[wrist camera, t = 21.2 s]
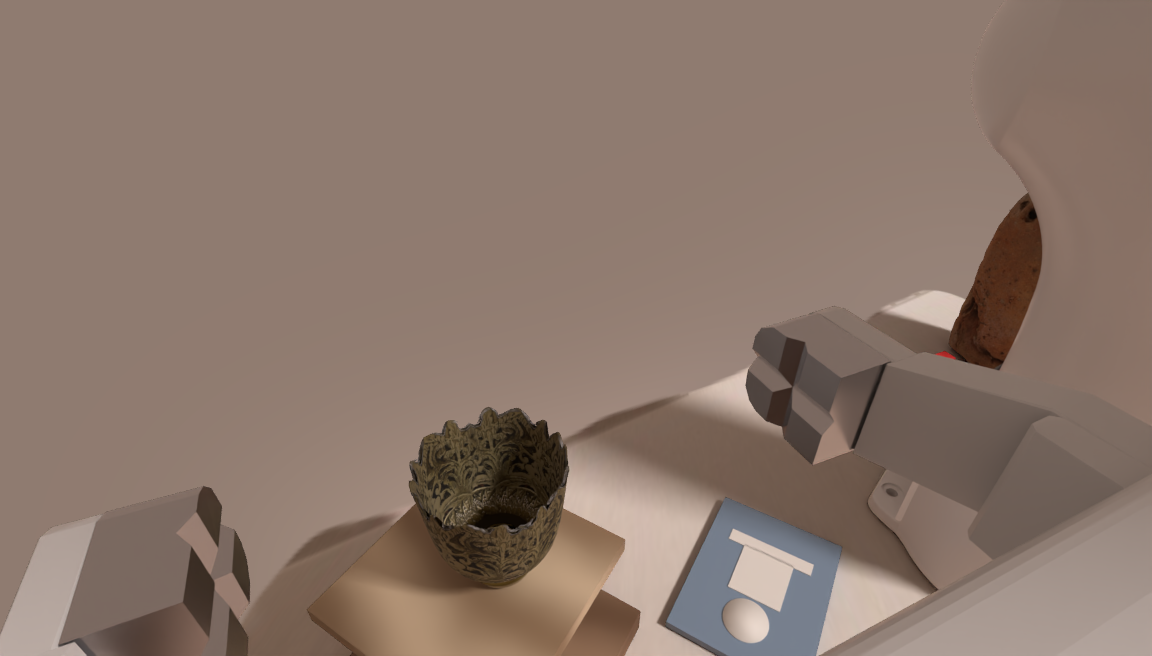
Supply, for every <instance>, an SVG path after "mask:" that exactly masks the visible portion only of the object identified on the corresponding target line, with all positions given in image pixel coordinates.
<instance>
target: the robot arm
mask: <svg viewBox="0 0 1152 656" xmlns="http://www.w3.org/2000/svg"><path fill="white" fill-rule="evenodd" d="M971 94H972V104H973V109H974V113H975V117H976V119H977V122H978V125H979V127H980V129H981V131H982V133H983V134H984V136H985V138H986V139H987V141H988V142H989V144H990V145H991V146H992V147H993V148H994V149H995V150H996V151H997V152H998V153H999V154H1000V155H1001V156H1002V157H1003V158H1004V159H1005V160H1006V161H1007V163H1008V164H1009V165H1010V166H1011V167H1012V169H1013V170H1014V171H1015V172H1016V174H1017V175H1018V176H1019V178H1020V179H1021V181H1022V183H1023V184H1024V186H1025V188H1026V190H1027V191H1028V194H1029V196H1030V198H1031V200H1032V202H1033V205H1034V208H1035V211H1036V213H1037V217H1038V221H1039V225H1040V231H1041V238H1042V264H1041V271H1040V275H1039V280H1038V283H1037V286H1036V289H1035V292H1034V294H1033V297H1032V300H1031V302H1030V305H1029V308H1028V310H1027V313H1026V315H1025V318H1024V320H1023V322H1022V325H1021V327H1020V330H1019V332H1018V334H1017V336H1016V338H1015V340H1014V343H1013V345H1012V347H1011V349H1010V351H1009V353H1008V355H1007V357H1006V359H1005V361H1004V363H1003V364H1001V365H999V366H997V367H996V368H995V369H991V368H987V367H983V366H979V365H975V364H971V363H967V362H963V361H959V360H955V359H951V358H947V357H943V356H939V355H935V354H931V353H927V352H921V353H918V354H917V353H915V352H914V351H912V350H910V349H909V348H907V347H906V346H904V345H902V344H901V343H899V342H897V341H896V340H894V339H893V338H891V337H889V336H888V335H886V334H885V333H883V332H881V331H880V330H878V329H877V328H875V327H873V326H872V325H870V324H869V323H867V322H865V321H864V320H862V319H860V318H859V317H857V316H856V315H854V314H852V313H851V312H849V311H847V310H846V309H844V308H839V307H835V306H832V307H829V308H826V309H822V310H819V311H816V312H813V313H810V314H808V315H804V316H800V317H798V318H794V319H790V320H787V321H783V322H780V323H777V324H773V325H770V326H766V327H763V328H761V329H760V331H759V332H758V333H757V335H756V336H755V340H754V344H753V350H754V352H755V354H756V355H757V358H756V360H755V361H754V362H753V364H752V365H751V366H750V368H749V369H748V373H747V379H746V389H747V393H748V397H749V401H750V402H751V404H752V406H753V407H754V409H755V410H756V412H757V413H758V414H759V415H760V416H761V417H762V418H763V419H764V420H765V421H767V422H770V423H773V424H775V425H778V426H781V427H782V429H783V436H784V439H785V440H786V441H787V442H788V443H789V444H790V445H791V446H793V447H794V448H795V449H796V450H797V451H798V452H799V453H800V454H801V455H802V456H803V457H804V458H805V459H806V460H807V461H808V462H809V463H810V464H812V465H815V464H818V463H820V462H823V461H826V460H829V459H831V458H834V457H837V456H840V455H842V454H845V453H848V452H851V451H853V450H854V452H853V454H856V455H858V456H860V457H862V458H864V459H866V460H868V461H870V462H873V463H875V464H877V465H879V466H881V467H883V468H885V469H886V470H885V472H884V473H883V475H882V477H881V478H880V480H879V482H878V484H877V485H876V487H875V489H874V490H873V492H872V494H871V495H870V497H869V499H868V505H869V507H870V509H871V510H872V512H873V513H874V514H875V515H876V516H877V517H878V518H879V519H880V520H881V521H882V522H883V523H884V524H885V525H887V526H888V527H889V528H890V529H891V530H892V531H893V532H895V533H896V535H897V536H898V537H899V539H900V540H901V541H902V543H903V545H904V546H905V548H906V550H907V551H908V553H909V555H910V556H911V558H912V559H913V561H914V562H915V564H916V565H917V566H918V568H919V569H920V570H921V572H922V573H923V574H924V575H925V576H926V578H927V579H928V580H929V581H930V582H931V583H932V584H933V585H934V586H935V587H936V588H937V589H938V591H936V592H934V593H932V594H930V595H929V596H927V597H925V598H923V599H921V600H919V601H918V602H916V603H914V604H912V605H910V606H908V607H907V608H905V609H903V610H901V611H899V612H898V613H896V614H894V615H892V616H890V617H888V618H887V619H885V620H883V621H881V622H879V623H877V624H876V625H874V626H872V627H870V628H868V629H866V630H865V631H863V632H861V633H859V634H857V635H856V636H854V637H852V638H850V639H848V640H846V641H845V642H843V643H841V644H839V645H837V646H835V647H834V648H832V649H830V650H828V651H826V652H824V653H823V654H821V655H819V656H1152V0H1005V1H1004V2H1003V3H1002V4H1001V6H1000V7H999V9H998V10H997V12H996V14H995V15H994V16H993V18H992V20H991V21H990V23H989V25H988V27H987V29H986V31H985V33H984V35H983V37H982V40H981V42H980V45H979V48H978V51H977V54H976V57H975V60H974V66H973V71H972V81H971ZM888 494H889V495H888ZM890 495H891V496H890ZM221 511H222V506H221V504H220V502H219V500H218V499H217V497H216V495H215V494H214V492H213V490H212V489H211V488H209V487H205V486H203V487H199V488H195V489H191V490H188V491H184V492H180V493H176V494H172V495H168V496H165V497H161V498H157V499H153V500H150V501H146V502H142V503H138V504H134V505H130V506H127V507H123V508H120V509H115V510H111V511H108V512H105V513H104V514H100V515H96V516H92V517H88V518H85V519H81V520H77V521H73V522H70V523H65V524H61V525H58V526H54V527H51V528H50V529H49V530H48V531H47V532H46V533H44V534H43V535H42V536H41V537H40V538H39V540H38V542H37V544H36V547H35V549H34V552H33V554H32V556H31V559H30V561H29V564H28V566H27V569H26V571H25V574H24V576H23V579H22V581H21V583H20V586H19V588H18V591H17V593H16V596H15V598H14V601H13V603H12V606H11V608H10V610H9V613H8V615H7V618H6V620H5V623H4V625H3V628H2V630H1V633H0V656H247V652H248V636H247V634H246V633H245V631H244V629H243V628H242V626H241V624H240V623H239V621H238V619H239V618H240V616H241V615H242V613H243V612H244V610H245V609H246V607H247V606H248V604H249V602H250V579H249V573H248V565H247V559H246V556H245V552H244V550H243V547H242V543H241V541H240V539H239V537H238V535H237V533H236V531H235V530H234V529H231V528H229V527H226V526H223V525H221V524H220V522H221Z"/></svg>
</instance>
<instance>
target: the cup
mask: <svg viewBox="0 0 1152 656" xmlns="http://www.w3.org/2000/svg"><path fill="white" fill-rule="evenodd" d="M481 415H482V416H481ZM481 417H482V418H481ZM479 418H480V419H479V421H478V422H480V423H479V424H476V425H473V424H470V423H469V424H467V425H466V427H465V428H462V429H460V428H459V427H458V425H457V423H456V422H457V421H455V420H450V421H447V422H446V423H445V424H444V426H443V430H442V433H432V434H430V435H428V436H426V437H424V438H423V440H422V442H421V445H420V450H419V457H418V462H415V461H416V460H414V461H411V462H410V470H411V473H412V476H413V480H412V481H409V488H410V492H411V494H412V496H413V497H414V500H415V502H416V504H417V507H418V509H419V511H420V514H421V516H422V519H423V521H424V523H425V526H426V528H427V530H428V532H429V535H430V537H431V539H432V541H433V543H434V545H435V547H436V548H437V550H438V552H439V553H440V555H441V556H442V558H443V559H444V560H445V561H446V563H447V564H448V565H449V566H450V567H451V568H452V569H454V570H455V571H456V572H458V573H459V574H461V575H462V576H464V577H466V578H468V579H471V580H474V581H477V582H480V583H481V584H483V585H485V586H487V587H491V588H506V587H510V586H512V585H515V584H516V583H518V582H519V581H521V580H522V579H523V578H524V577H525V576H526V575H527V574H528V572H529V571H531V570H532V569H534V568H535V567H536V566H537V565H538V564H539V563H540V562H541V561H542V560H543V559H544V557H545V556H546V555H547V553H548V552H549V550H550V549H551V547H552V545H553V543H554V540H555V538H556V535H557V532H558V529H559V525H560V521H561V516H562V510H563V504H564V497H565V490H566V483H567V477H568V472H569V466H568V459H567V447H566V445H565V444H564V446H563V442H562V438H561V435H560V433H559V432H556V433H554V434H552V435H551V436H550V438H549V434H548V427H547V422H546V421H545V420H541V421H538V422H536V425H537V426H535V424H533V423H532V422H531V420H530V419H529V417H528V415H527V414H526V413H524V412H523V411H522V410H521V409H519V408H514V409H511V410H508V411H506V412H504V413H503V414H499V415H498V413H497V411H496V410H495V409H493V408H490V407H487V408H485V409H484V410H483V411H482V412H481V414H480V417H479ZM480 420H481V421H480Z"/></svg>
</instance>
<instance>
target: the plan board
mask: <svg viewBox="0 0 1152 656" xmlns="http://www.w3.org/2000/svg"><path fill="white" fill-rule="evenodd" d="M841 551H842V547H841V546H839V545H837V544H834V543H832V542H830V541H827V540H825V539H823V538H820V537H818V536H816V535H813V534H811V533H809V532H806V531H804V530H802V529H799V528H797V527H795V526H792V525H790V524H788V523H785V522H783V521H781V520H778V519H776V518H774V517H771V516H769V515H767V514H764V513H762V512H760V511H757V510H755V509H753V508H750V507H748V506H746V505H743V504H741V503H739V502H736V501H734V500H732V499H729V498H727V497H725V499H724V501H723V504H722V506H721V508H720V510H719V512H718V514H717V516H716V518H715V520H714V522H713V525H712V527H711V529H710V531H709V533H708V535H707V537H706V539H705V541H704V543H703V545H702V548H701V550H700V552H699V554H698V556H697V558H696V560H695V562H694V564H693V566H692V568H691V571H690V573H689V575H688V577H687V579H686V581H685V583H684V585H683V587H682V589H681V592H680V594H679V596H678V598H677V600H676V602H675V604H674V606H673V608H672V610H671V612H670V615H669V617H668V619H667V621H666V627H667V628H669V629H671V630H673V631H675V632H676V633H678V634H680V635H682V636H684V637H685V638H687V639H689V640H691V641H693V642H694V643H696V644H698V645H700V646H702V647H703V648H705V649H707V650H709V651H711V652H712V653H714V654H716V655H718V656H816V653H817V649H818V645H819V641H820V637H821V633H822V628H823V624H824V620H825V616H826V612H827V608H828V604H829V600H830V596H831V592H832V587H833V583H834V579H835V575H836V571H837V567H838V563H839V559H840V555H841Z"/></svg>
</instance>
